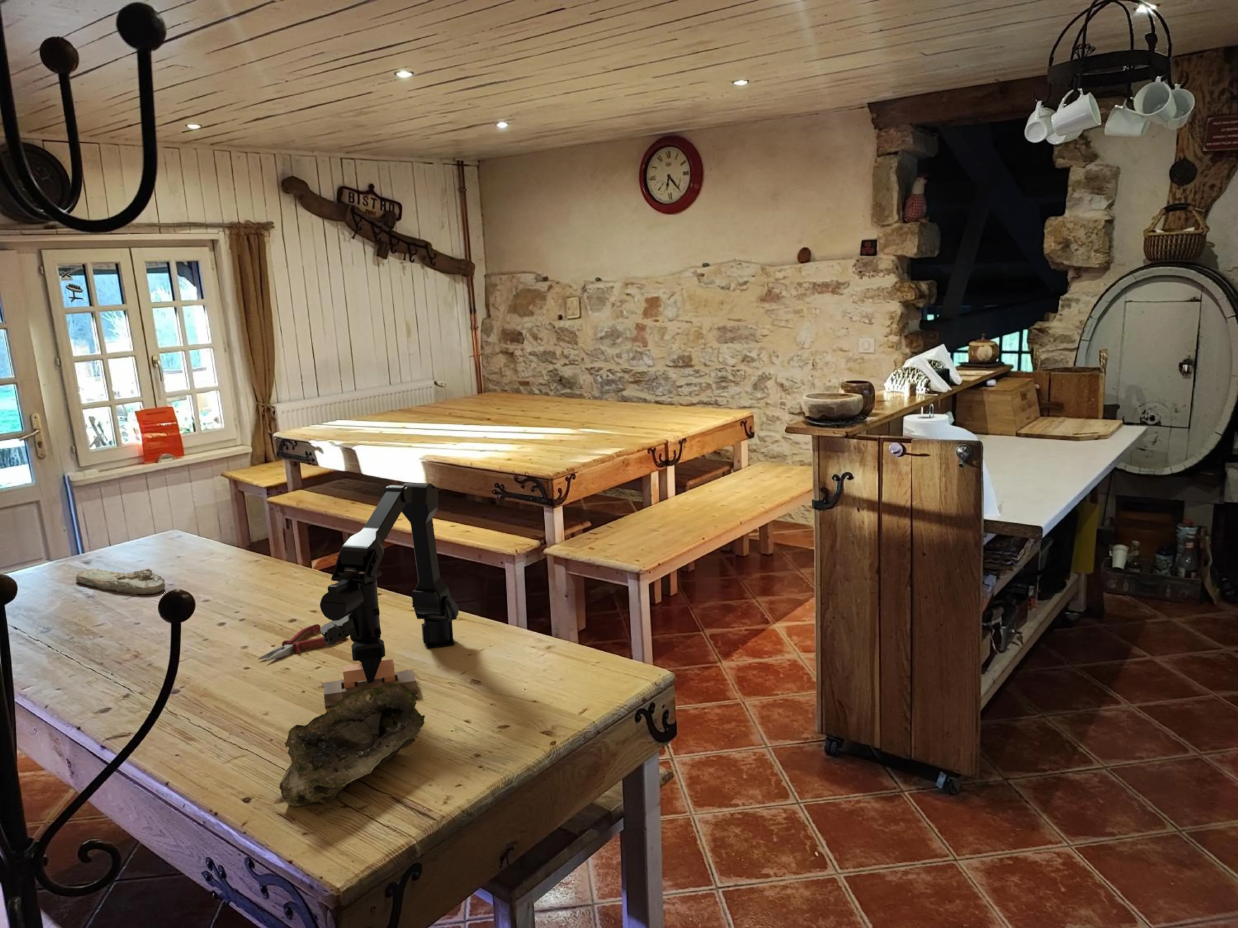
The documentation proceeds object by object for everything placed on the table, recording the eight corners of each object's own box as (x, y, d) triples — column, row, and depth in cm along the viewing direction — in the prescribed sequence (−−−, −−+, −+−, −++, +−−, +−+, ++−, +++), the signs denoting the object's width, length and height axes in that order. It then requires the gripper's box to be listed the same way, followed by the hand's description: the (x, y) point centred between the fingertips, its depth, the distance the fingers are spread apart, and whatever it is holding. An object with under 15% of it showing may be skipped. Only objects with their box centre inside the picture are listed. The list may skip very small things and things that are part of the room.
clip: (394, 686, 188) (392, 658, 187) (396, 691, 185) (393, 664, 184) (344, 693, 185) (342, 666, 184) (345, 699, 182) (343, 671, 181)
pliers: (246, 659, 206) (245, 649, 206) (317, 631, 223) (316, 621, 222) (279, 670, 200) (278, 658, 200) (349, 640, 217) (348, 629, 216)
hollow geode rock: (416, 764, 166) (376, 695, 170) (450, 732, 160) (407, 661, 164) (283, 835, 144) (241, 754, 148) (316, 801, 137) (270, 717, 141)
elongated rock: (99, 579, 274) (67, 590, 265) (95, 562, 272) (63, 573, 264) (177, 586, 258) (146, 599, 250) (173, 569, 257) (142, 581, 248)
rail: (413, 682, 190) (413, 669, 190) (416, 694, 185) (416, 680, 184) (324, 696, 185) (323, 682, 184) (325, 708, 179) (323, 694, 179)
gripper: (321, 594, 187) (327, 664, 190) (322, 624, 170) (328, 701, 173) (376, 587, 191) (381, 656, 194) (382, 616, 173) (388, 692, 176)
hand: (369, 675), depth 184 cm, fingers open, 6 cm apart
